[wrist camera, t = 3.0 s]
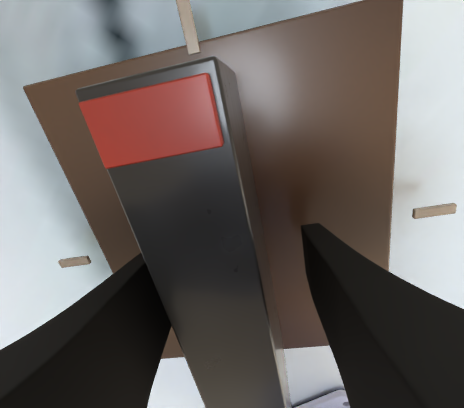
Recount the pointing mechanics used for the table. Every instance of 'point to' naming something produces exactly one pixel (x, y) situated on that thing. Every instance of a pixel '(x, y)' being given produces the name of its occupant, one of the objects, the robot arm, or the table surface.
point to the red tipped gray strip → (196, 221)
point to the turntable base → (272, 141)
